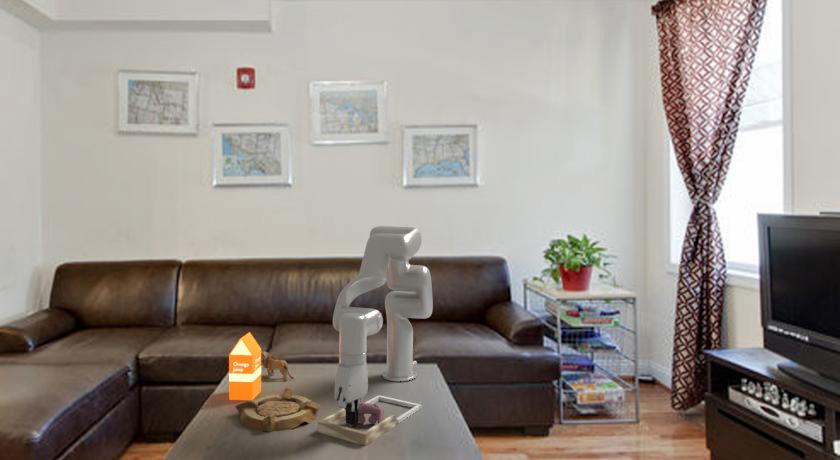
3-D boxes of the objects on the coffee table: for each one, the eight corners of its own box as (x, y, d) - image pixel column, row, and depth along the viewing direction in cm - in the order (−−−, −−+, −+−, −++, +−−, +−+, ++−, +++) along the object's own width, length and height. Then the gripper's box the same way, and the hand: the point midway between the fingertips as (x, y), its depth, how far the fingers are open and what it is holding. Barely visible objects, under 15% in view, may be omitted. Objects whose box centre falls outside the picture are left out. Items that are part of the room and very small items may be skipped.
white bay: (378, 398, 177) (378, 395, 177) (421, 408, 169) (421, 404, 169) (353, 412, 165) (353, 408, 165) (398, 423, 157) (398, 419, 157)
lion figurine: (255, 377, 197) (255, 352, 196) (263, 373, 202) (263, 349, 201) (290, 382, 192) (290, 357, 191) (298, 377, 197) (298, 353, 196)
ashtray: (234, 407, 169) (234, 391, 169) (311, 398, 178) (311, 383, 177) (237, 438, 147) (237, 420, 147) (325, 426, 155) (325, 409, 155)
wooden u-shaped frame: (351, 413, 164) (351, 404, 164) (396, 425, 156) (396, 415, 156) (317, 432, 151) (318, 421, 151) (365, 445, 143) (365, 434, 143)
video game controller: (383, 429, 157) (385, 404, 160) (381, 428, 153) (383, 402, 155) (350, 428, 158) (352, 402, 161) (347, 426, 154) (349, 401, 156)
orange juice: (261, 390, 183) (261, 332, 182) (252, 400, 174) (252, 338, 173) (238, 390, 183) (238, 331, 182) (228, 399, 174) (228, 338, 173)
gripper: (357, 350, 158) (356, 412, 159) (324, 362, 145) (323, 430, 146) (379, 354, 155) (378, 417, 155) (347, 367, 142) (346, 436, 142)
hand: (351, 423), depth 151 cm, fingers closed
